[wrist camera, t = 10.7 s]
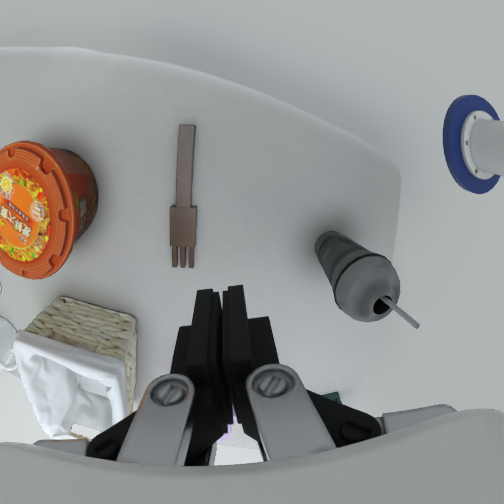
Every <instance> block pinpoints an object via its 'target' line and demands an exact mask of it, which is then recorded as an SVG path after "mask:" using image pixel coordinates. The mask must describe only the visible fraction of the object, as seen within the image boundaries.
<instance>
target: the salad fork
mask: <svg viewBox="0 0 504 504" xmlns="http://www.w3.org/2000/svg"><path fill="white" fill-rule="evenodd" d="M195 129H196V126H195V125H179V139H178V156H177V178H176V206H174V205H172V206H171V207H170V246H172V267H177V265H178V246H179V247H180V259H181V268H185V266H186V247H189V268H193V267H194V247H195V245H196V217H197V206H191V200H192V177H193V158H194V142H195Z"/></svg>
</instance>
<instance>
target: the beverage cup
mask: <svg viewBox="0 0 504 504" xmlns="http://www.w3.org/2000/svg"><path fill="white" fill-rule="evenodd" d="M315 251H316V255H317V257H318V260H319V262H320V264H321V266H322V268H323V270H324V272H325V274H326V276H327V278H328V280H329V282H330V284H331V286H332V290H333V294H334V298H335V302H336V304H337V305H338V307H339V308H340V309H341V310H342V311H344V312H345V313H346V314H347V315H349V316H350V317H352V318H353V319H355V320H358V321H363V322H372V321H377V320H380V319H382V318H384V317H385V316H387V315H388V314H389V313H390V312H391V311H392V310H394V311H396V312H397V313H398V314H399V315H400V316H402V317H403V318H404V319H405V320H406V321H407V322H409V323H410V324H411V325H412V326H413V327H414V328H416V329H417V328H419V326H420V324H419V323H418V322H416V321H415V320H414V319H412V317H410V316H409V315H408V314H407V313H405V312H404V311H403V310H402V309H400V308H399V307H398V306H397V305H396V304H397V302H398V299H399V295H400V280H399V277H398V275H397V272H396V270H395V268H394V267H393V266H392V264H391V262H390V261H389V260H388V259H387V258H386V257H385V256H382V255H379V254H377V253H373V252H371V251H369V250H367V249H365V248H364V247H362V246H361V245H359V244H357V243H356V242H354V241H352V240H351V239H349V238H348V237H346V236H344V235H342V234H340V233H338V232H335V231H329V232H326V233H324V234H323V235H321V236H320V237H319V239H318V240H317V242H316V245H315Z"/></svg>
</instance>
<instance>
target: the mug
mask: <svg viewBox="0 0 504 504" xmlns="http://www.w3.org/2000/svg"><path fill="white" fill-rule="evenodd" d="M16 334H17V332H16V330H15V329H14V327H13V326H12V325H11V324H10V323H9V322H8V321H7V320H6V319H4V318H2V317H0V374H1V373H2V371H3V370H4V369H5V370H8V371H12V370H14V369H16V368H18V366H17V363H16V359H15V363H13V364H11V365H7V364H8V363H9V361H10V360H11V358H12V357H13V355H14V349H13V342H14V340H15V338H16Z"/></svg>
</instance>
